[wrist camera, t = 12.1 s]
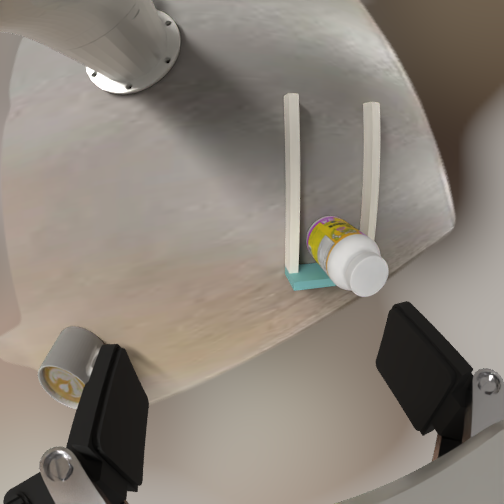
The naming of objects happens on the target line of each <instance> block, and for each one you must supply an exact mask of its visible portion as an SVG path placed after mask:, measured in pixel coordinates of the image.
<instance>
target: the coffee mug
mask: <svg viewBox="0 0 504 504" xmlns="http://www.w3.org/2000/svg"><path fill="white" fill-rule="evenodd" d="M102 345H104V343H103V342H102V341H101V340H100V339H99V338H98V337H97V336H96V335H95V334H94V333H92V332H90V331H89V330H86V329H84V328H81V327H76V326H71V327H67V328H65V329H64V330H63V331H62V332H61V333H60V335H59V337H58V338H57V340H56V341H55V343H54V345H53V346H52V348H51V350H50V351H49V353H48V355H47V356H46V358H45V360H44V361H43V363H42V365H41V367H40V369H39V371H38V378H39V381H40V384H41V385H42V387H43V388H44V390H45V391H46V392H47V393H48V394H49V395H50V396H51V397H52V398H54V399H55V400H56V401H58V402H60V403H61V404H63V405H65V406H67V407H71V408H74V409H77V407H78V404H79V401H80V397H81V394H82V391H83V388H84V386H85V384H86V383H87V382H88V381H89V378H90V375H91V372H92V370H93V367H94V364H95V361H96V358H97V356H98V353H99V350H100V347H101V346H102Z"/></svg>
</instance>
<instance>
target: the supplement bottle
mask: <svg viewBox="0 0 504 504" xmlns="http://www.w3.org/2000/svg"><path fill="white" fill-rule="evenodd" d="M306 245H307V249H308V251H309V253H310V254H311V256H312V257H313V258H314V259H315V260H316V262H317V263H318V264H319V265H320V267H321V268H322V269H323V270H324V271H325V273H326V274H327V275H328V276H329V278H330V279H331V280H332V281H333V283H334V284H335V285H337V286H338V287H339V288H341V289H344V290H351V291H353V292H354V293H355V294H356V295H358V296H361V297H367V296H371V295H373V294H375V293H377V292H378V291H379V290H380V289H381V288H382V287H383V286H384V284H385V283H386V280H387V277H388V265H387V263H386V261H385V260H384V259H383V258H382V257H381V253H380V250H379V247H378V246H377V244H376V243H375V242H374V241H373V240H372V239H371V238H369V237H368V236H366V235H365V234H363V233H362V232H360V231H359V230H357V229H356V228H355V227H353V226H352V225H350V224H349V223H347V222H346V221H344V220H342V219H341V218H339V217H336V216H325V217H322V218H320V219H318V220H317V221H315V222H314V223H313V224H312V226H311V227H310V229H309V230H308V233H307V237H306Z"/></svg>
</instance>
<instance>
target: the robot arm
mask: <svg viewBox="0 0 504 504" xmlns="http://www.w3.org/2000/svg"><path fill="white" fill-rule="evenodd" d="M168 25H170V26H168ZM0 32H6V33H12V34H17V35H20V36H23V37H26V38H29V39H32V40H34V41H36V42H39V43H41V44H43V45H45V46H47V47H49V48H51V49H53V50H55V51H57V52H59V53H61V54H63V55H65V56H67V57H69V58H71V59H73V60H75V61H77V62H78V63H80V64H82V65H84V66H86V70H87V74H88V76H89V78H90V79H91V81H92V82H93V83H94V84H95V85H96V86H97V87H99V88H100V89H102V90H104V91H106V92H109V93H113V94H131V93H136V92H139V91H142V90H144V89H146V88H148V87H150V86H152V85H154V84H155V83H156V82H158V81H159V80H161V79H162V78H163V77H164V76H165V75H166V74H167V73H168V71H169V70H170V69H171V68H172V66H173V65H174V63H175V61H176V59H177V57H178V54H179V51H180V45H181V39H180V33H179V29H178V27H177V25H176V23H175V21H174V20H173V19H172V18H171V17H170V16H169V15H167V14H166V13H164V12H162V11H159V10H157V9H156V8H155V6H154V4H153V2H152V0H0ZM167 61H170V62H169V63H166V62H167ZM96 75H97V76H96ZM95 76H96V77H95ZM130 86H132V88H131V89H129V87H130ZM376 367H377V369H378V371H379V372H380V373H381V375H382V377H383V378H384V380H385V381H386V383H387V385H388V386H389V388H390V389H391V391H392V392H393V394H394V396H395V397H396V398H397V400H398V402H399V404H400V405H401V407H402V408H403V410H404V412H405V413H406V415H407V416H408V418H409V420H410V421H411V423H412V425H413V426H414V428H415V429H416V430H417V431H420V432H421V434H422V435H425V434H427V433H429V432H431V431H433V430H434V429H435V430H436V431H437V439H436V444H435V449H434V454H433V458H432V462H431V463H429V464H427V465H425V466H424V467H422V468H420V469H418V470H416V471H414V472H412V473H410V474H408V475H406V476H404V477H402V478H400V479H398V480H395V481H393V482H391V483H389V484H386V485H384V486H382V487H379V488H377V489H375V490H372V491H369V492H367V493H364V494H361V495H359V496H356V497H353V498H350V499H347V500H344V501H341V502H338V503H335V504H504V382H503V379H502V378H501V376H500V375H499V374H498V373H497V372H495V371H494V370H491V369H484V368H483V369H480V370H478V371H477V372H475V374H474V376H473V375H472V374H471V372H472V371H473V368H472V367H471V366H470V365H469V364H468V363H467V361H466V360H465V359H464V358H463V357H462V356H461V355H460V354H459V353H458V351H456V349H455V348H454V347H453V346H452V345H451V344H450V343H449V342H448V341H447V340H446V339H445V338H444V337H443V335H441V333H440V332H439V331H438V330H437V329H436V328H435V327H434V326H433V325H432V324H431V323H430V322H429V321H428V320H427V319H426V318H425V317H424V316H423V315H422V314H421V313H420V312H419V311H418V310H417V309H416V308H415V307H414V306H413V305H412V304H411V303H410V302H407V301H406V302H402V303H399V304H395V305H394V306H393V307H392V309H391V310H390V311H389V314H388V318H387V322H386V326H385V330H384V334H383V338H382V341H381V345H380V349H379V352H378V356H377V359H376ZM148 408H149V402H148V398H147V395H146V393H145V391H144V389H143V387H142V385H141V383H140V381H139V379H138V377H137V375H136V373H135V370H134V368H133V366H132V364H131V362H130V359H129V357H128V355H127V352H126V350H125V349H124V348H121V347H120V346H119V345H118V344H106V345H102V346H101V347H100V350H99V353H98V356H97V358H96V361H95V364H94V367H93V370H92V372H91V375H90V378H89V381H88V382H87V383H86V384H85V386H84V388H83V391H82V394H81V397H80V401H79V404H78V407H77V410H76V414H75V417H74V421H73V424H72V428H71V431H70V435H69V439H68V443H67V447H66V448H65V447H53V448H50V449H49V450H47V451H46V452H45V453H44V454H43V456H42V457H41V460H40V468H39V469H40V472H39V473H38V474H36V475H34V476H32V477H31V478H29V479H27V480H26V481H24V482H23V483H21V484H19V485H17V486H15V487H14V488H12V489H10V490H9V491H8V492H7V493H6V495H5V497H4V504H129V503H128V502H127V501H126V496H127V491H133V492H137V491H138V485H139V486H140V485H141V484H142V480H143V463H144V448H145V437H146V426H147V416H148Z"/></svg>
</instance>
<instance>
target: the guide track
mask: <svg viewBox="0 0 504 504" xmlns="http://www.w3.org/2000/svg"><path fill="white" fill-rule="evenodd" d="M363 123H364V157H363V188H362V206H361V220H360V232H362V233H363V234H365V235H366V236H368V237H369V238H371V239H372V240H373V241H374V239H375V230H376V219H377V208H378V194H379V175H380V103H377V102H368V103H363ZM284 125H285V183H286V235H285V275H286V276H287V278H288V280H289V282H290V284H291V286H292V288H293V290H294V291H295V290H304V289H313V288H321V287H330V286H337V285H335V284H334V283H333V281H332V280H331V279H330V278H329V276H328V275H327V274H326V273H325V271H324V270H323V269H322V268H321V267H320V265H319V264H318V263H311V264H300V265H299V234H300V123H299V94H297V93H288V94H286V95H285V96H284Z"/></svg>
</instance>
